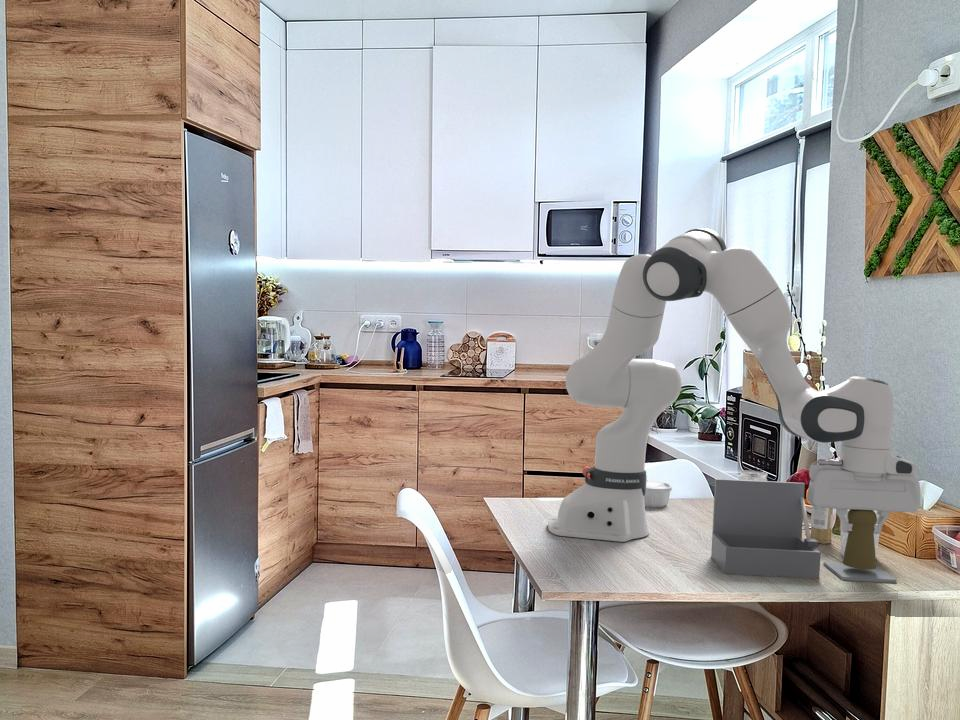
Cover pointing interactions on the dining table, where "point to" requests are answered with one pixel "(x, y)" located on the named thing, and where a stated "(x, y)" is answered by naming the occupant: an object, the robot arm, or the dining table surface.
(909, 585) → the dining table surface
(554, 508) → the dining table surface
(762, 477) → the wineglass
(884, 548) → the dining table surface
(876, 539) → the white cup
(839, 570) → the mat
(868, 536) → the cork
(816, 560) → the case
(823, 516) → the sprinkles bottle
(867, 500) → the robot arm
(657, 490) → the ramekin
